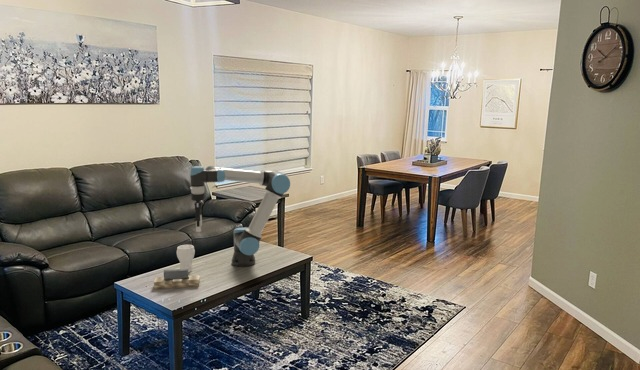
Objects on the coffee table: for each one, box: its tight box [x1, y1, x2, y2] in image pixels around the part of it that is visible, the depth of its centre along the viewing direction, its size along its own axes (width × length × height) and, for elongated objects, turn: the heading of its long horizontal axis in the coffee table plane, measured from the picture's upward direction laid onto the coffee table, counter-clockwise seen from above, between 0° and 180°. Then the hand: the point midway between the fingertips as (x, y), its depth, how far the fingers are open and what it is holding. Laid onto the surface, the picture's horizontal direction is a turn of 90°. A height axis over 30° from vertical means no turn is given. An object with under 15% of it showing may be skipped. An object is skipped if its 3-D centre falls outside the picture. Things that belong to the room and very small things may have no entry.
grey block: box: [163, 268, 190, 280], centre depth 259 cm, size 13×3×8 cm, turn 102°
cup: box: [176, 244, 196, 273], centre depth 282 cm, size 11×11×15 cm
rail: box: [153, 274, 201, 290], centre depth 260 cm, size 24×7×4 cm, turn 102°
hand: (199, 228), depth 271 cm, fingers open, 13 cm apart
